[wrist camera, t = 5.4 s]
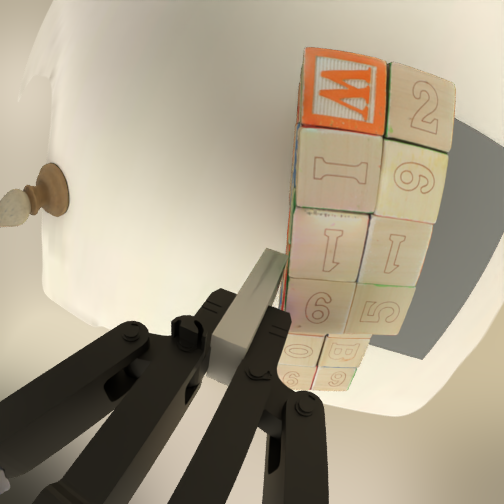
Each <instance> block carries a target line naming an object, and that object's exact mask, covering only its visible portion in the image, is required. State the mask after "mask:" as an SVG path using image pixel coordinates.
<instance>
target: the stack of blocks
mask: <svg viewBox="0 0 504 504" xmlns="http://www.w3.org/2000/svg"><path fill="white" fill-rule="evenodd" d="M455 95H456V89H455V84H454V83H452V82H450V81H448V80H445V79H442V78H440V77H437V76H435V75H432V74H429V73H426V72H424V71H421V70H418V69H415V68H412V67H409V66H406V65H402V64H399V63H396V62H391V63H389V64H387V63H386V61H384V60H381V59H378V58H375V57H370V56H365V55H361V54H355V53H350V52H344V51H338V50H331V49H323V48H315V47H306V48H304V55H303V64H302V68H301V74H300V83H299V91H298V107H297V122H296V125H295V137H294V150H293V163H292V172H291V183H290V194H289V205H290V211H289V221H288V230H287V247H286V255H288V260H287V263H286V266H285V269H284V273H283V276H282V279H281V286H280V295H279V307H278V309H280V310H283V311H286V312H289V313H290V316H291V321H292V323H291V326H290V330H289V332H288V336H287V339H286V342H285V345H284V348H283V351H282V354H281V357H280V360H279V362H278V366H277V374H278V376H279V378H280V380H281V381H282V382H283V383H284V384H285V385H286V386H287V387H289V388H290V389H293V390H306V391H308V390H319V391H347V390H348V388H349V386H350V384H351V382H352V379H353V377H354V375H355V373H356V370H357V368H358V367H359V365H360V363H361V361H362V359H363V356H364V354H365V351H366V349H367V346H368V344H369V342H370V338H371V337H372V335H373V334H374V335H397V334H398V333H399V331H400V328H401V326H402V324H403V321H404V319H405V316H406V314H407V311H408V309H409V306H410V304H411V301H412V298H413V296H414V293H415V290H416V283H417V281H418V278H419V276H420V273H421V270H422V267H423V264H424V260H425V256H426V252H427V250H428V247H429V243H430V240H431V235H432V231H433V225H434V224H435V223H436V220H437V216H438V212H439V208H440V204H441V199H442V194H443V189H444V184H445V178H446V172H447V165H448V154H447V153H448V152H449V151H450V149H451V145H452V136H453V126H454V114H455Z"/></svg>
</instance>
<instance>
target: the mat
mask: <svg viewBox="0 0 504 504" xmlns="http://www.w3.org/2000/svg"><path fill="white" fill-rule="evenodd" d="M447 154H448V165H447V172H446V178H445V184H444V189H443V194H442V199H441V204H440V208H439V212H438V216H437V220H436V223H435V224H434V225H433V231H432V235H431V240H430V243H429V247H428V250H427V252H426V256H425V260H424V264H423V267H422V270H421V273H420V276H419V278H418V281H417V283H416V290H415V293H414V296H413V298H412V301H411V304H410V306H409V309H408V311H407V314H406V316H405V319H404V321H403V324H402V326H401V328H400V331H399V333H398V334H397V335H374V334H373V335H372V337H371V338H370V342H369V344H370V345H373V346H377V347H380V348H383V349H387V350H390V351H393V352H397V353H400V354H404V355H407V356H411V357H414V358H418V359H421V360H423V358H424V357H425V356H426V355H427V354H428V352H429V351H430V350H431V349H432V347H433V346H434V345H435V344H436V342H437V341H438V340H439V339H440V337H441V336H442V335H443V333H444V332H445V331H446V329H447V328H448V326H449V325H450V324H451V322H452V321H453V320H454V318H455V317H456V315H457V314H458V312H459V311H460V309H461V308H462V306H463V305H464V303H465V302H466V300H467V299H468V297H469V295H470V294H471V292H472V291H473V289H474V287H475V286H476V284H477V282H478V281H479V279H480V277H481V275H482V274H483V272H484V270H485V268H486V266H487V265H488V263H489V261H490V259H491V257H492V255H493V253H494V251H495V249H496V247H497V245H498V243H499V241H500V239H501V237H502V235H503V232H504V147H502V146H501V145H499V144H498V143H496V142H495V141H493V140H491V139H490V138H488V137H487V136H485V135H483V134H482V133H480V132H478V131H477V130H475V129H473V128H472V127H470V126H468V125H466V124H465V123H463V122H461V121H459V120H457V119H455V118H454V126H453V136H452V145H451V149H450V151H449V152H448V153H447Z"/></svg>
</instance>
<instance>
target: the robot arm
mask: <svg viewBox="0 0 504 504" xmlns="http://www.w3.org/2000/svg"><path fill="white" fill-rule="evenodd" d="M287 260H288V255H285V254H282V253H280V252H277V251H274V250H271V249H268V248H266V249H265V251H264V252H263V254H262V256H261V257H260V259H259V260H258V262H257V264H256V265H255V267H254V268H253V270H252V272H251V273H250V275H249V276H248V278H247V280H246V281H245V283H244V284H243V286H242V288H241V289H240V291H239V292H238V294H235V293H232V292H230V291H227V290H224V289H222V288H220V289H218V290H216V291H214V292H212V293H211V294H210V296H209V297H208V298H207V300H206V302H204V304H203V305H202V307H201V308H200V309H199V310H198V312H197V313H196V314H195V316H191V315H183V316H179V317H176V318H175V319H174V320H172V321H171V336H163V335H157V334H152V333H149V332H148V329H147V328H146V326H145V325H143V324H142V323H140V322H136V321H127V322H124V323H122V324H120V325H118V326H117V327H115V328H114V329H112V330H110V331H109V332H107V333H106V334H104V335H103V336H101V337H100V338H98V339H96V340H95V341H93V342H92V343H90V344H89V345H87V346H85V347H84V348H83V349H81V350H79V351H78V352H76V353H75V354H73V355H71V356H70V357H68V358H67V359H65V360H64V361H62V362H61V363H59V364H57V365H56V366H54V367H53V368H51V369H50V370H48V371H47V372H45V373H43V374H42V375H40V376H39V377H37V378H36V379H34V380H33V381H31V382H30V383H28V384H27V385H25V386H24V387H22V388H21V389H19V390H17V391H16V392H14V393H13V394H11V395H10V396H8V397H7V398H5V399H4V400H2V401H1V402H0V494H2V493H3V492H4V491H8V490H9V488H10V483H9V481H8V479H7V478H13V477H17V476H20V475H22V474H25V473H26V472H28V471H30V470H32V469H33V468H34V467H36V466H37V465H39V464H40V463H42V462H43V461H45V460H46V459H47V458H49V457H50V456H51V455H53V454H54V453H56V452H57V451H59V450H60V449H62V448H63V447H64V446H66V445H67V444H69V443H70V442H71V441H73V440H74V439H75V438H77V437H78V436H79V435H81V434H82V433H83V432H85V431H86V430H88V429H89V428H90V427H91V426H93V425H94V424H96V423H97V422H98V421H100V420H101V419H102V418H104V417H105V416H106V415H107V414H109V413H110V412H111V411H113V410H114V411H113V412H112V413H111V415H110V416H109V417H108V419H107V420H106V421H105V423H104V424H103V425H102V426H101V428H100V429H99V430H98V432H97V433H96V434H95V436H94V437H93V438H92V439H91V441H90V442H89V443H88V445H87V446H86V447H85V449H84V450H83V451H82V453H81V454H80V455H79V457H78V458H77V459H76V460H75V462H74V463H73V465H72V466H71V467H70V468H69V470H68V471H67V472H66V474H65V475H64V476H63V478H62V479H61V480H60V481H58V482H56V483H53V484H50V485H48V486H47V487H45V488H44V489H43V490H42V491H41V492H40V494H39V495H38V496H37V498H36V499H35V501H34V502H33V503H32V504H128V503H129V501H130V500H131V498H132V496H133V495H134V493H135V492H136V490H137V489H138V487H139V486H140V484H141V483H142V481H143V479H144V478H145V476H146V474H147V473H148V472H149V470H150V468H151V467H152V465H153V464H154V462H155V460H156V459H157V457H158V455H159V454H160V452H161V451H162V449H163V448H164V446H165V444H166V443H167V441H168V440H169V438H170V436H171V435H172V433H173V431H174V430H175V428H176V427H177V425H178V423H179V422H180V420H181V418H182V417H183V415H184V413H185V412H186V410H187V408H188V407H189V405H190V403H191V402H192V400H193V398H194V397H195V395H196V394H197V392H198V390H199V388H200V386H201V383H202V378H203V376H204V375H205V373H206V372H207V374H206V376H207V377H209V378H211V379H214V380H216V381H218V382H220V383H223V384H225V385H227V386H228V388H227V391H226V392H225V395H224V397H223V399H222V401H221V403H220V405H219V407H218V409H217V411H216V413H215V415H214V417H213V419H212V421H211V423H210V425H209V427H208V429H207V430H206V433H205V435H204V436H203V438H202V440H201V442H200V444H199V446H198V448H197V450H196V452H195V454H194V456H193V457H192V459H191V461H190V463H189V465H188V467H187V469H186V471H185V472H184V475H183V476H182V478H181V480H180V482H179V484H178V485H177V487H176V489H175V491H174V493H173V494H172V496H171V498H170V500H169V502H168V503H167V504H225V503H226V500H227V498H228V496H229V494H230V492H231V489H232V487H233V485H234V483H235V480H236V478H237V476H238V473H239V471H240V469H241V466H242V464H243V461H244V459H245V457H246V454H247V452H248V449H249V447H250V444H251V442H252V439H253V436H254V434H255V431H256V429H257V427H259V428H260V429H262V430H263V431H264V432H266V433H267V441H266V457H265V472H264V486H263V500H262V504H329V490H328V462H327V442H326V427H325V413H324V406H323V403H322V401H321V400H320V398H319V397H318V396H317V395H315V394H313V393H312V392H308V391H297V392H295V391H293V390H292V389H290V388H289V387H287V386H286V385H285V384H284V383H283V382H282V381H281V380H280V378H279V376H278V374H277V366H278V362H279V360H280V357H281V354H282V351H283V348H284V345H285V342H286V339H287V336H288V332H289V330H290V326H291V323H292V321H291V316H290V313H289V312H286V311H283V310H280V309H277V308H274V307H272V304H273V302H274V299H275V297H276V294H277V291H278V288H279V285H280V282H281V279H282V276H283V273H284V269H285V266H286V263H287Z"/></svg>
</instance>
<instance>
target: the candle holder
mask: <svg viewBox="0 0 504 504" xmlns="http://www.w3.org/2000/svg"><path fill="white" fill-rule="evenodd" d="M68 202H69V195H68V188H67V184H66V181H65V178H64V176H63V174H62V172H61V170H60V169H59V168H58V167H57V166H56V165H55V164H52V163H49V164H46V165H44V166H43V167H42V168H41V170H40V173H39V175H38V178H37V181H36V186H30V185H27V186H25V188H24V190H23V191H22V190H19V189H13V190H10V191H9V192H8V193H7V194H6V195H5V196H4V197H3V198H2V199H1V201H0V227H13V226H19V225H22V224H23V223H24V222H25V221H26V220H27V219H28V216H29V214H31V215H36V214H37V213H38V210H39V209H40V208H41V207H42V208H43V209H44V210H45V211H46V212H48V213H50V214H51V215H53V216H55V217H59V216H61V215H63V214H64V213H65V212H66V210H67V208H68Z"/></svg>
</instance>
